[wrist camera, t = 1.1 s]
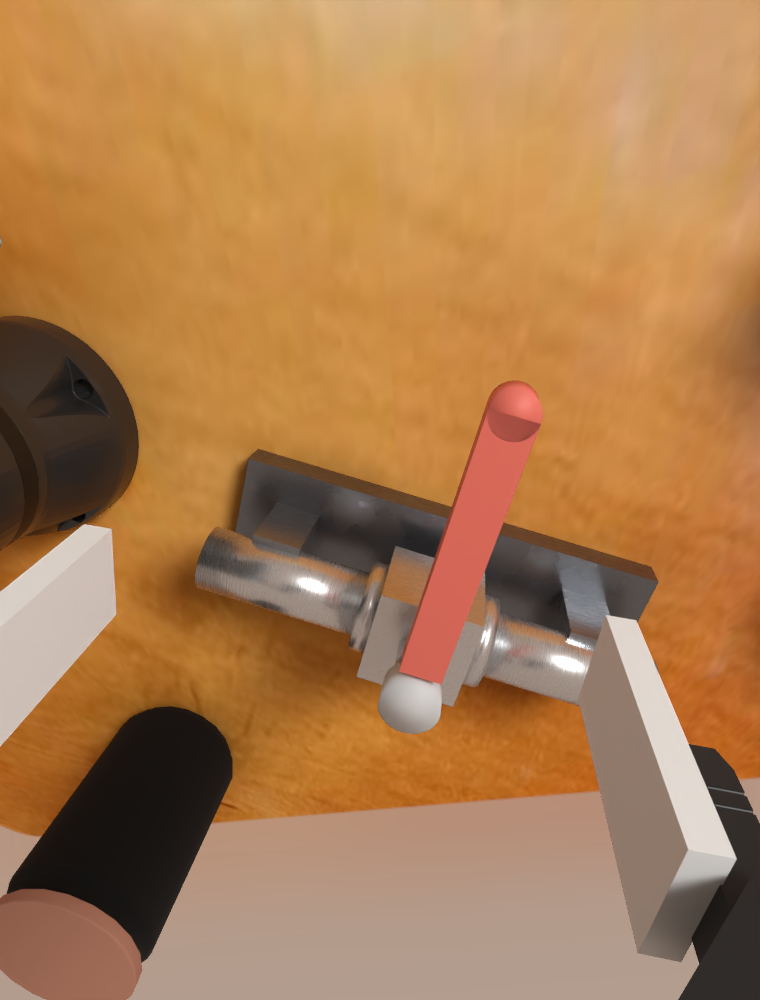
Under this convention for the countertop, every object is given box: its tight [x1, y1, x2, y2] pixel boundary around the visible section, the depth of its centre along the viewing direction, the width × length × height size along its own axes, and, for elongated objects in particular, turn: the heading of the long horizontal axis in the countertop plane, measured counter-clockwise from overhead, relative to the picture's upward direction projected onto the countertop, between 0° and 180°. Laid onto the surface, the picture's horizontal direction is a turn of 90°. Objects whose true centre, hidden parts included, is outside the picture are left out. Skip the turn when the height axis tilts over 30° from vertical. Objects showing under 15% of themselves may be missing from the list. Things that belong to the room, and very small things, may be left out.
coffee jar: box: [0, 706, 232, 1000], centre depth 49 cm, size 11×11×18 cm
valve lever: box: [378, 381, 543, 734], centre depth 30 cm, size 19×3×2 cm, turn 165°
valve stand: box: [195, 449, 659, 707], centre depth 40 cm, size 28×10×12 cm, turn 75°
